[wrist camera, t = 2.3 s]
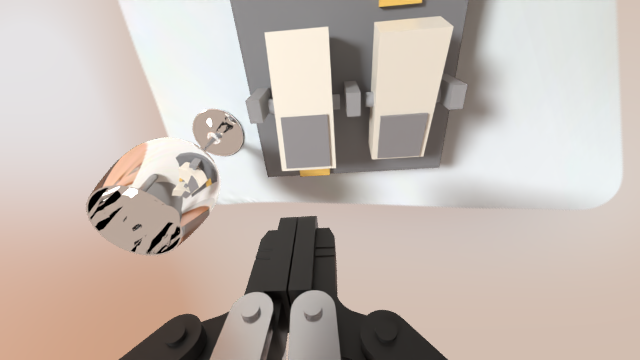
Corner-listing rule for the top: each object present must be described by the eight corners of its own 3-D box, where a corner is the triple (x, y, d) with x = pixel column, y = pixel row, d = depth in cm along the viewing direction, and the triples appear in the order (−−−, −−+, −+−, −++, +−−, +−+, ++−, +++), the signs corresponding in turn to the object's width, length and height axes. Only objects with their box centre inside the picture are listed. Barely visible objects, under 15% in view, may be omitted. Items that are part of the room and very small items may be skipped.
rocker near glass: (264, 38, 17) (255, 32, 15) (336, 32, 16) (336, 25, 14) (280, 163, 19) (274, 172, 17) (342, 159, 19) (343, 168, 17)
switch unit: (241, -10, 18) (205, -19, 13) (453, -32, 17) (508, -51, 12) (274, 161, 25) (260, 201, 20) (427, 152, 24) (454, 191, 19)
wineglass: (260, 119, 23) (205, 204, 13) (239, 171, 26) (181, 274, 16) (193, 88, 22) (73, 154, 12) (179, 145, 24) (72, 240, 14)
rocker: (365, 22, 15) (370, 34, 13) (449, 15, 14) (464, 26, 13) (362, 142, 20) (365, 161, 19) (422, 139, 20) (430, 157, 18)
